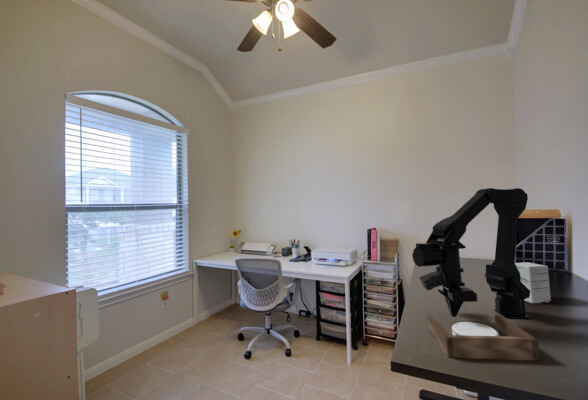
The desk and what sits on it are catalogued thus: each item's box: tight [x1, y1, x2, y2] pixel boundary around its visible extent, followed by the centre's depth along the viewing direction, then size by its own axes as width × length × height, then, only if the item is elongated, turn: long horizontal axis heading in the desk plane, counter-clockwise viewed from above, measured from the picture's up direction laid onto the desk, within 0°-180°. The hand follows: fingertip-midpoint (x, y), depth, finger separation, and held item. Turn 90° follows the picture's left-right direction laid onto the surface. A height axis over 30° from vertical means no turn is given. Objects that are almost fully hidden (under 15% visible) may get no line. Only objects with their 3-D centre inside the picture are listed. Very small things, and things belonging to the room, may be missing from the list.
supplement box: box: [515, 261, 552, 304], centre depth 97 cm, size 7×7×13 cm
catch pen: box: [426, 314, 541, 362], centre depth 67 cm, size 18×14×4 cm
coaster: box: [451, 321, 500, 336], centre depth 68 cm, size 10×10×4 cm
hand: (453, 316), depth 81 cm, fingers closed
